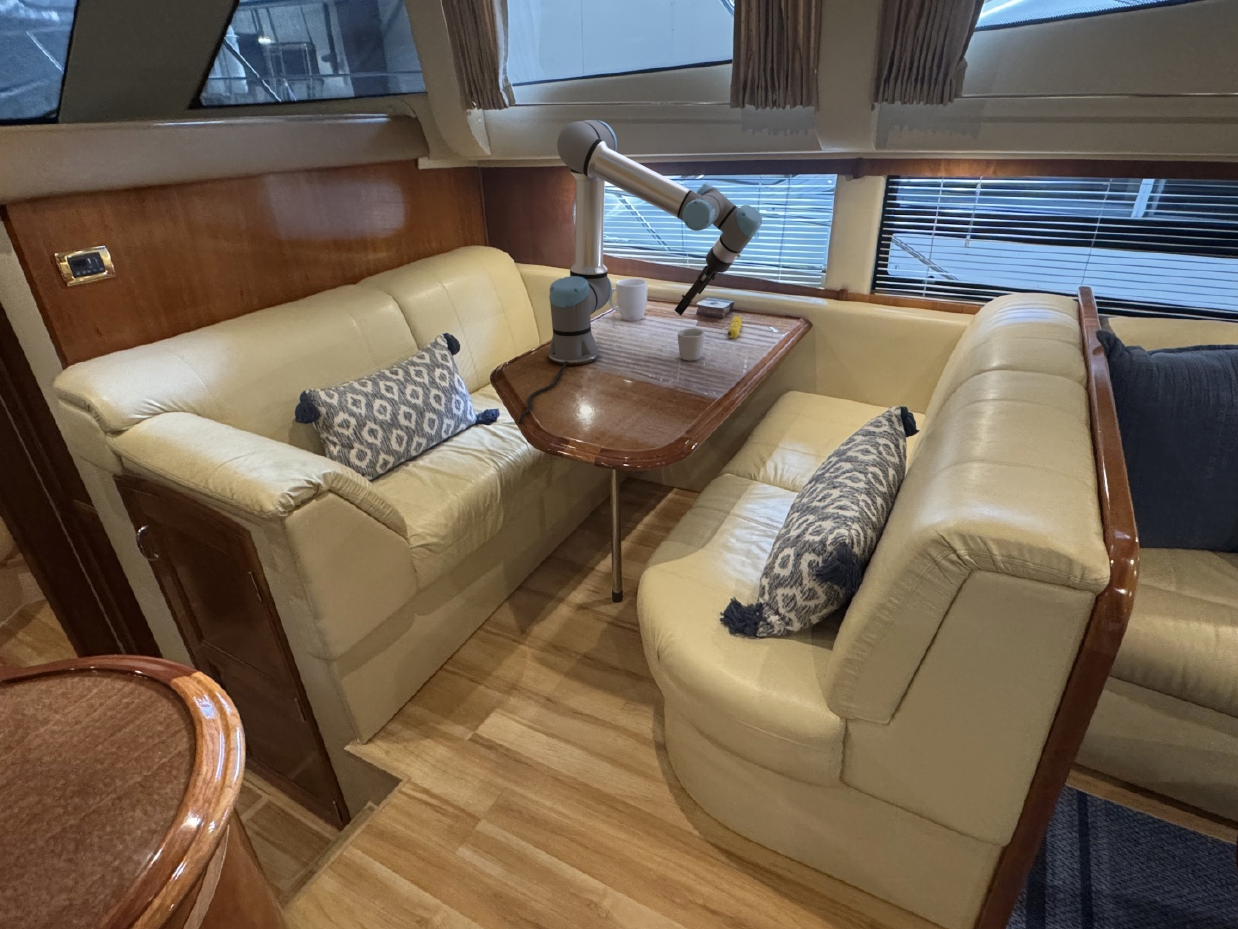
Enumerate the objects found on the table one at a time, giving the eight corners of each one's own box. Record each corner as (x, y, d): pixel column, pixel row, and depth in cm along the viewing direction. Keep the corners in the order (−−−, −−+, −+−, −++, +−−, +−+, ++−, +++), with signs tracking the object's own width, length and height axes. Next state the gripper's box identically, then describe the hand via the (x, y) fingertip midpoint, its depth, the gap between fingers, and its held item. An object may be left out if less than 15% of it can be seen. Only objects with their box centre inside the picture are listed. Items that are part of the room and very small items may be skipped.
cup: (688, 349, 208) (688, 324, 204) (711, 353, 204) (712, 327, 200) (672, 360, 200) (672, 334, 196) (696, 364, 196) (697, 338, 192)
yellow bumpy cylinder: (738, 339, 214) (738, 329, 212) (726, 339, 215) (727, 328, 213) (742, 324, 228) (742, 314, 227) (731, 324, 229) (732, 313, 227)
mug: (602, 319, 239) (600, 283, 232) (616, 311, 247) (615, 276, 241) (639, 324, 233) (638, 286, 226) (652, 315, 241) (652, 279, 235)
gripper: (715, 282, 183) (679, 329, 200) (749, 243, 198) (713, 290, 215) (694, 265, 183) (660, 313, 200) (730, 227, 198) (695, 275, 215)
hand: (687, 301), depth 207 cm, fingers open, 13 cm apart
